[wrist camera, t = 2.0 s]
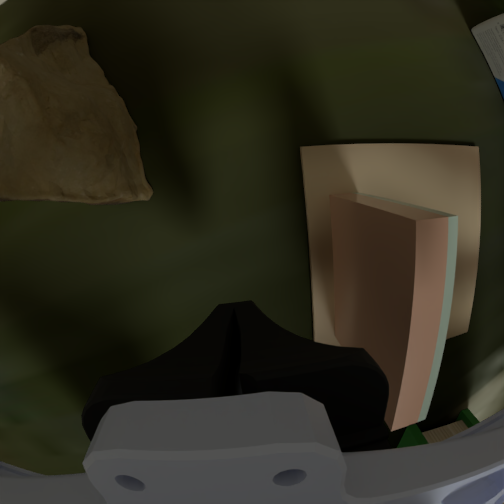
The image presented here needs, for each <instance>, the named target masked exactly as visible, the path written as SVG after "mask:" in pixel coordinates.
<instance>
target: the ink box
mask: <svg viewBox="0 0 504 504" xmlns="http://www.w3.org/2000/svg"><path fill="white" fill-rule="evenodd" d="M471 31H472V34H473V35H474V37H475V39H476V41H477V43H478V45H479V46H480V48H481V50H482V52H483V54H484V56H485V58H486V60H487V62H488V64H489V66H490V69H491V71H492V73H493V75H494V77H495V79H496V82H497V84H498V86H499V89H500V91H501V93H502V96H503V99H504V13H503V14H501V15H498V16H496V17H493V18H491V19H489V20H486V21H484V22H482V23H480V24H478V25H476V26H475V27H473V28H472V29H471Z"/></svg>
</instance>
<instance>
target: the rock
mask: <svg viewBox="0 0 504 504" xmlns="http://www.w3.org/2000/svg"><path fill="white" fill-rule="evenodd" d="M136 130H137V126H136V125H135V123H134V122H133V120H132V119H131V117H130V115H129V113H128V111H127V108H126V106H125V103H124V101H123V99H122V98H121V97H120V96H119V95H118V93H117V92H116V89H115V88H114V87H113V86H112V85H109V83H108V81H107V79H106V78H105V76H104V71H103V70H102V69H101V67H100V66H99V65H98V64H97V63H96V62H95V61H94V60H93V59H92V58H91V57H90V55H89V47H88V44H87V36H86V33H85V32H84V31H83V29H82V28H81V27H73V26H70V25H61V26H52V25H37V26H34V27H32V28H30V29H29V30H28V31H27V32H25V33H24V34H23V35H20V36H19V37H16V38H12V39H10V40H8V41H7V42H5V43H3V44H1V45H0V201H12V200H30V201H43V200H51V201H59V202H82V203H86V204H90V205H108V204H109V205H116V204H122V203H129V202H133V201H139V200H149V199H150V197H151V196H152V194H153V190H152V187H151V186H150V185H149V184H148V182H147V180H146V178H145V173H144V168H143V163H142V159H141V157H140V144H139V141H138V137H137V134H136Z"/></svg>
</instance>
